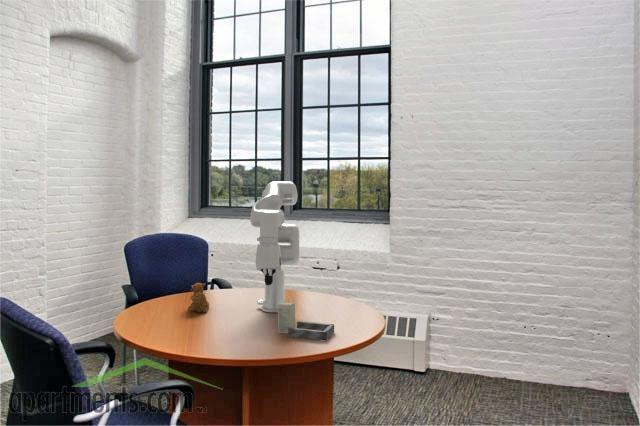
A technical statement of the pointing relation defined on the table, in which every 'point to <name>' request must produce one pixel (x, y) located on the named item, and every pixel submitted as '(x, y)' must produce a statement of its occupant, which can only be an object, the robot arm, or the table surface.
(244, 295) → the table surface
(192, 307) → the brown teddy bear
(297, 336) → the u rest
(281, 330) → the skincare box
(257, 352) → the table surface
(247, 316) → the table surface
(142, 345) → the table surface
